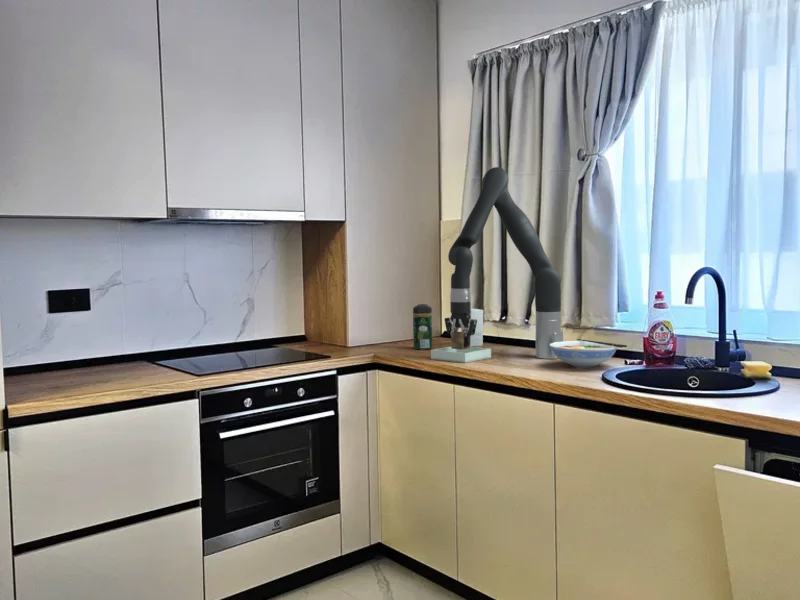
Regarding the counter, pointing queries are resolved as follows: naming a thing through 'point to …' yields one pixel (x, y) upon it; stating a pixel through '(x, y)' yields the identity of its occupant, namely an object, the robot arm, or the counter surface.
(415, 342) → the coffee jar
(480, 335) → the skincare box
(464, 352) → the sage tray
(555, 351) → the ramen bowl
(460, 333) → the walnut block
